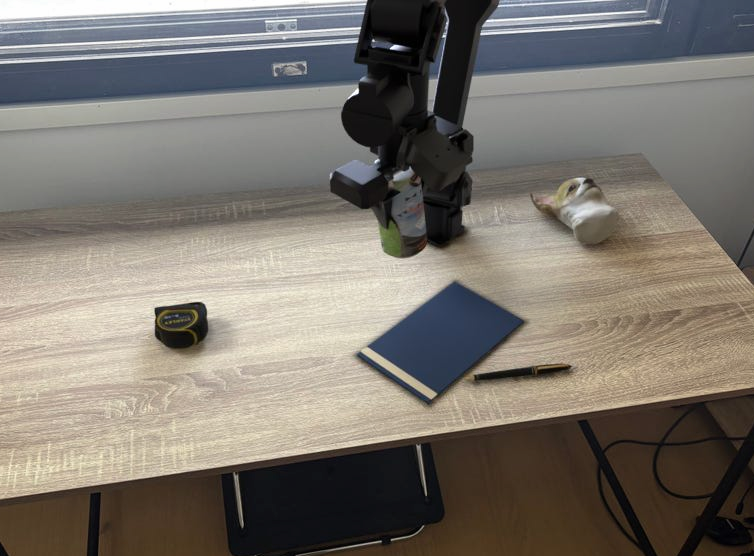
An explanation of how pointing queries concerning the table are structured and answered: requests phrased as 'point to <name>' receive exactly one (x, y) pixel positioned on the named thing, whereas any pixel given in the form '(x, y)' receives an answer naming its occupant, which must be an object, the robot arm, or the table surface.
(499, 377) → the fountain pen
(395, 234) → the beverage can
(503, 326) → the blue hardcover notebook
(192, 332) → the tape measure
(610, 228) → the ceramic sculpture
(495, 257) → the table surface
